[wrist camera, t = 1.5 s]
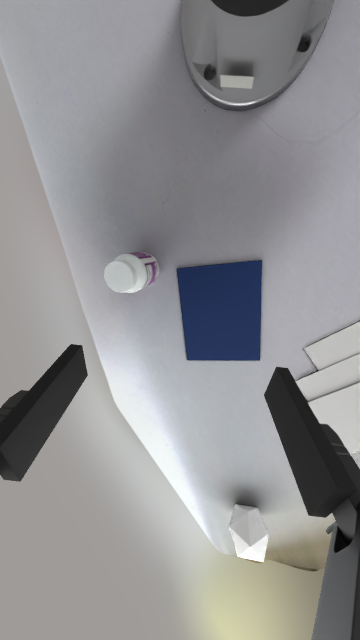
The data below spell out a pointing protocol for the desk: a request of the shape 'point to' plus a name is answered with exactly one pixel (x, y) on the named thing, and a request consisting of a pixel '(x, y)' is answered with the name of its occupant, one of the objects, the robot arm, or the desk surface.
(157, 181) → the desk surface
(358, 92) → the desk surface
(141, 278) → the pill bottle
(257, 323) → the cloth
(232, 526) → the die
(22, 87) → the desk surface
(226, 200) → the desk surface
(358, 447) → the paper stack
